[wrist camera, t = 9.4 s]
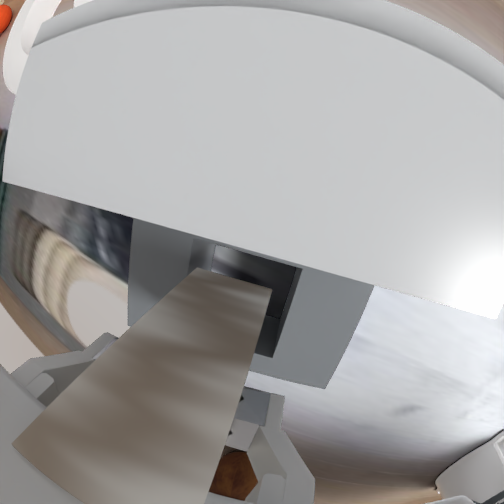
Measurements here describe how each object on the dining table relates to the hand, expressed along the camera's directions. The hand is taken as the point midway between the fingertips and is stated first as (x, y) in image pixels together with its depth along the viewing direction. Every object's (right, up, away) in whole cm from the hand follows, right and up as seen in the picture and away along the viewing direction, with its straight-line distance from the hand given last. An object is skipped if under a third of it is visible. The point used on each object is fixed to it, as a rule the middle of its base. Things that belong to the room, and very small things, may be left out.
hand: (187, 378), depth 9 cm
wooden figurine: (+2, -21, +18) cm, 28 cm away
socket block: (+3, +6, +10) cm, 12 cm away
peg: (+1, +1, +5) cm, 6 cm away
